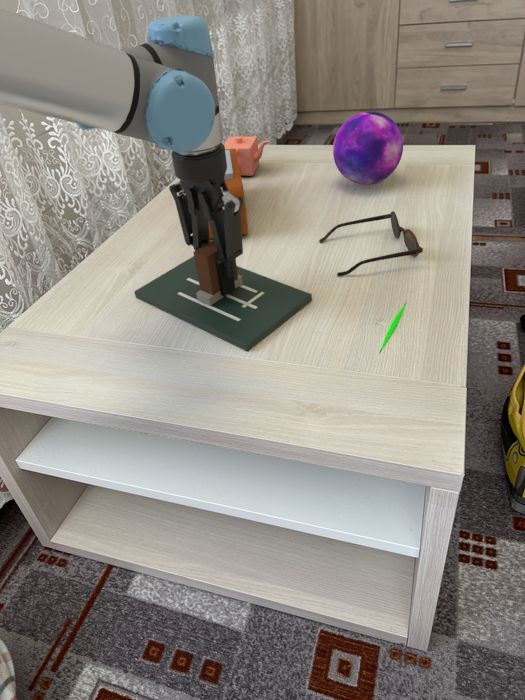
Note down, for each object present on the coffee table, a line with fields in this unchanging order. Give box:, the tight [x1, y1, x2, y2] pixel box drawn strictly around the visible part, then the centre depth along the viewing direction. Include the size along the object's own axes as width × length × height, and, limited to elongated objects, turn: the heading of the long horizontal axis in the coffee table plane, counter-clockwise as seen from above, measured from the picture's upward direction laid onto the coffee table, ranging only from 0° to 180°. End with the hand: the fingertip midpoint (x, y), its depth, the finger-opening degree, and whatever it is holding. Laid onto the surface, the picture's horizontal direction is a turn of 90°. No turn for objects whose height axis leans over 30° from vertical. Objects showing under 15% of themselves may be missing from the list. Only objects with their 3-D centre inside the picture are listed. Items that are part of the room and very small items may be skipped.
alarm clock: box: [208, 149, 249, 240], centre depth 114 cm, size 24×8×11 cm, turn 6°
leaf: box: [378, 302, 407, 354], centre depth 83 cm, size 1×14×1 cm, turn 153°
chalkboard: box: [133, 255, 313, 352], centre depth 92 cm, size 26×16×1 cm, turn 50°
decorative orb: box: [332, 110, 404, 186], centre depth 120 cm, size 15×15×15 cm
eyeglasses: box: [318, 211, 424, 277], centre depth 99 cm, size 15×15×5 cm
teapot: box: [223, 135, 270, 177], centre depth 133 cm, size 12×15×8 cm
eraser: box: [193, 239, 243, 306], centre depth 89 cm, size 8×3×8 cm, turn 139°
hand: (220, 288), depth 91 cm, fingers closed on eraser, 3 cm apart
